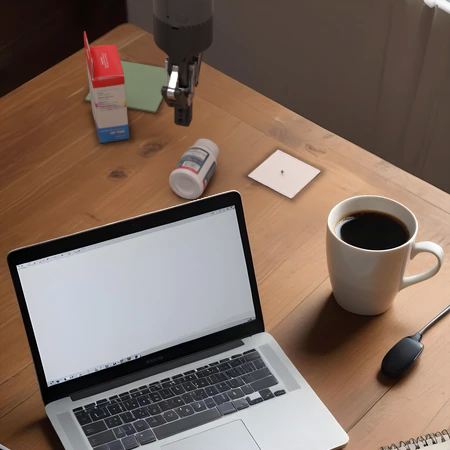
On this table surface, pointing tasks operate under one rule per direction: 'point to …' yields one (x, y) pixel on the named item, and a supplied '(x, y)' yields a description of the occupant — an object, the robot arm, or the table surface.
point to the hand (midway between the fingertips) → (183, 123)
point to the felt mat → (142, 86)
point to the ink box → (107, 92)
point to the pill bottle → (194, 169)
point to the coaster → (284, 173)
